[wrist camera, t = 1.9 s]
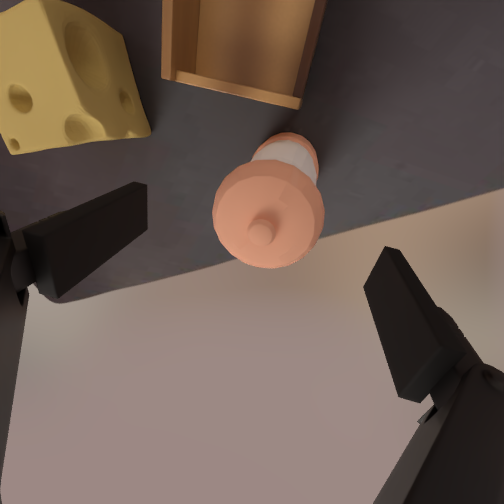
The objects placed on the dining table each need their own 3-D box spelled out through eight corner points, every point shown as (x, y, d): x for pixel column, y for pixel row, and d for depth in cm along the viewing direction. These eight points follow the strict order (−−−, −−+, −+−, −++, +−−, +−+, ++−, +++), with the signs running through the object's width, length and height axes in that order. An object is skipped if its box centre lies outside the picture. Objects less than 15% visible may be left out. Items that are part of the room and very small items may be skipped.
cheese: (155, 135, 32) (98, 146, 23) (81, 146, 34) (4, 159, 26) (124, 25, 27) (38, -13, 18) (40, 46, 29) (-71, 22, 21)
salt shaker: (310, 201, 32) (312, 301, 16) (251, 191, 33) (195, 277, 16) (324, 136, 28) (347, 180, 12) (259, 127, 29) (195, 156, 13)
